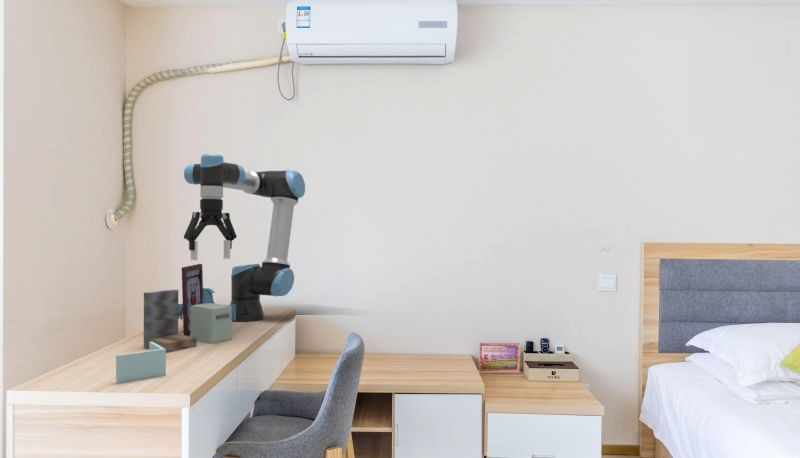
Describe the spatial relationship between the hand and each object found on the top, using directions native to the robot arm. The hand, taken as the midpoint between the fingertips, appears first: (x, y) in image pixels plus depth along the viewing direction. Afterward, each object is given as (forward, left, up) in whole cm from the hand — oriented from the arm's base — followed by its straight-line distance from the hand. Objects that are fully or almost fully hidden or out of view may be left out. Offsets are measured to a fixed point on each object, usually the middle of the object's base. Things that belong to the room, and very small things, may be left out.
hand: (210, 259), depth 193 cm
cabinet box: (0, 0, -28) cm, 28 cm away
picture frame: (-2, -19, -29) cm, 34 cm away
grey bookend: (+15, 0, -28) cm, 32 cm away
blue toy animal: (-13, -21, -29) cm, 38 cm away
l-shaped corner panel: (+39, +20, -29) cm, 53 cm away
